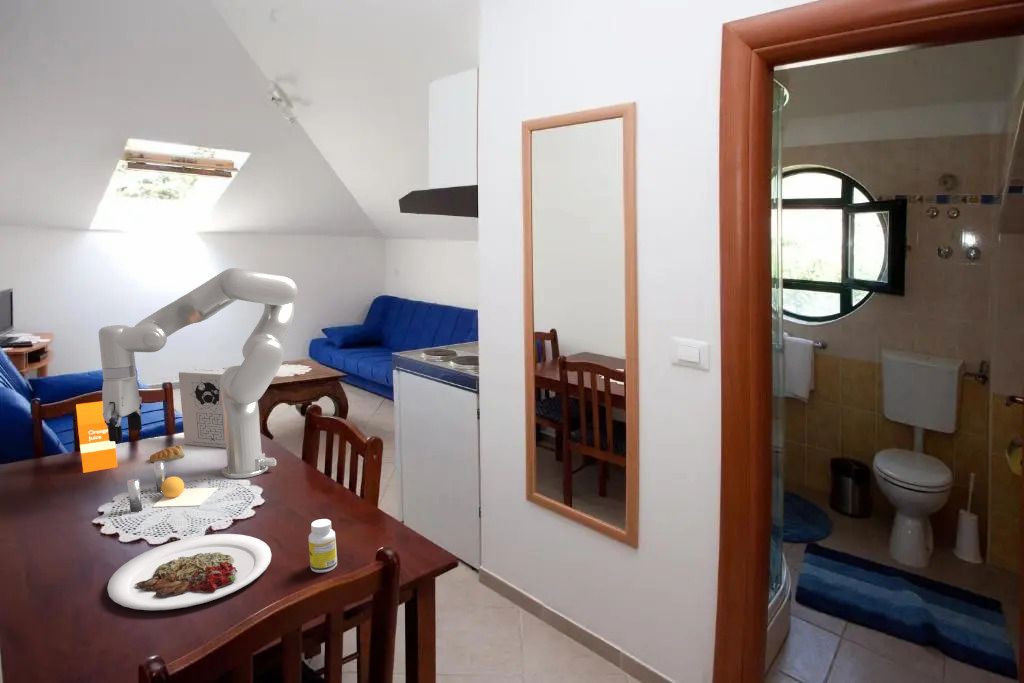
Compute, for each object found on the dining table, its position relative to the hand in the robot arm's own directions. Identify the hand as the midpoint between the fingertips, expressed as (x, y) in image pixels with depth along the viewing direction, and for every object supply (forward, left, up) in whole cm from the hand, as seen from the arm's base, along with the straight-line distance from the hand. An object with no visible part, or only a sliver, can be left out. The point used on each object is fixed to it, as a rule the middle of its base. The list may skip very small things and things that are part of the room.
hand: (126, 435), depth 172 cm
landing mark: (-16, +4, -16) cm, 23 cm away
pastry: (+3, -29, -17) cm, 33 cm away
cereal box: (-7, -43, -17) cm, 47 cm away
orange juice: (+21, -23, -16) cm, 35 cm away
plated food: (-35, +45, -17) cm, 59 cm away
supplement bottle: (-61, +44, -16) cm, 77 cm away
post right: (-7, -2, -16) cm, 18 cm away
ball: (-12, +3, -14) cm, 19 cm away
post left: (-7, +12, -16) cm, 21 cm away
